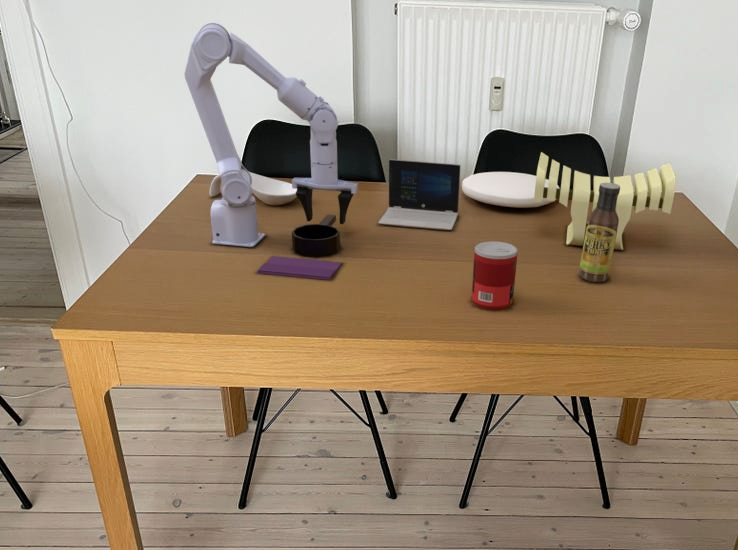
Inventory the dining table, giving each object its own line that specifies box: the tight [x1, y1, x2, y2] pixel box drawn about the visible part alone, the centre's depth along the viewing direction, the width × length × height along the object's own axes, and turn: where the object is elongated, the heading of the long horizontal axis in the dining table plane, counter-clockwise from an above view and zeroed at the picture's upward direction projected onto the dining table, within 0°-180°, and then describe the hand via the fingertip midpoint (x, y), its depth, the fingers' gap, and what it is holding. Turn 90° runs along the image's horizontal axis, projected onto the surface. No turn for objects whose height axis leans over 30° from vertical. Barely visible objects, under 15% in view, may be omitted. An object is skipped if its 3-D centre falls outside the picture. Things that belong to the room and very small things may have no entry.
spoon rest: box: [208, 171, 298, 206], centre depth 187 cm, size 24×12×7 cm, turn 80°
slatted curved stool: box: [534, 151, 677, 251], centre depth 169 cm, size 30×16×18 cm, turn 80°
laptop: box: [377, 158, 461, 231], centre depth 177 cm, size 18×12×13 cm
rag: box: [257, 255, 343, 281], centre depth 150 cm, size 15×9×1 cm, turn 82°
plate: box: [461, 171, 561, 209], centre depth 198 cm, size 28×6×27 cm
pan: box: [291, 214, 341, 258], centre depth 163 cm, size 17×10×4 cm, turn 172°
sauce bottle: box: [578, 182, 620, 283], centre depth 148 cm, size 6×6×20 cm
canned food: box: [471, 241, 518, 311], centre depth 137 cm, size 8×8×11 cm
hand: (326, 221), depth 166 cm, fingers open, 7 cm apart
